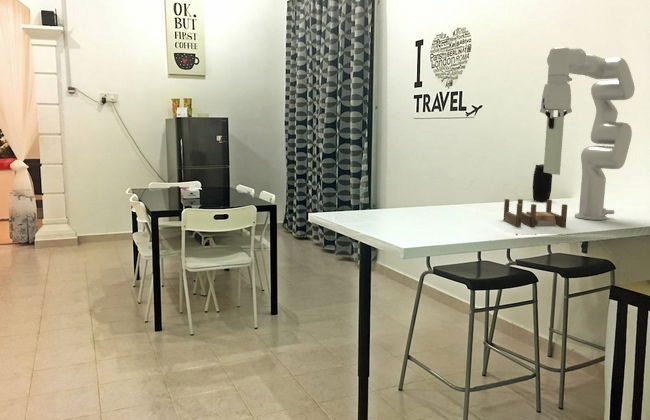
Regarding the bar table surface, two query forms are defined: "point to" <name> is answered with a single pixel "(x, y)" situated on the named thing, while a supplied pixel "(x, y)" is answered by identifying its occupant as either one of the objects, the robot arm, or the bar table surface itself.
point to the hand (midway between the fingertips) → (554, 128)
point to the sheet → (553, 147)
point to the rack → (532, 214)
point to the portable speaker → (541, 184)
